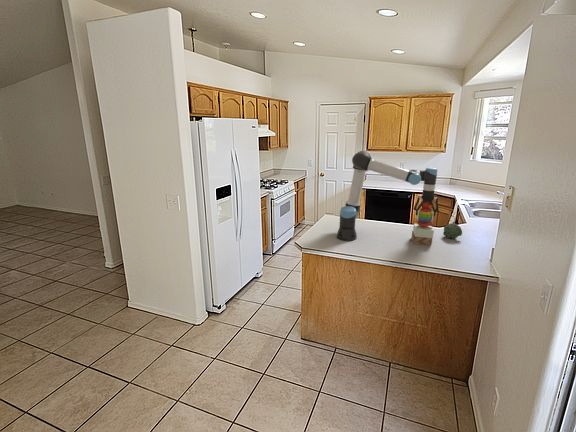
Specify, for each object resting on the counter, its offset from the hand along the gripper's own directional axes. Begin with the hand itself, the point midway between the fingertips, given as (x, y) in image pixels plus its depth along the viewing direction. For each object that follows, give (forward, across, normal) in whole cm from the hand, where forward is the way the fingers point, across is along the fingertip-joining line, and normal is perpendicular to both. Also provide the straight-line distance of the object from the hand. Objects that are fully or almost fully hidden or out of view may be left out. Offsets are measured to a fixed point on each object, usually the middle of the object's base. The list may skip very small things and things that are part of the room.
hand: (424, 219), depth 227 cm
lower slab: (+17, 0, 0) cm, 17 cm away
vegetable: (+17, +24, +14) cm, 33 cm away
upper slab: (+11, 0, 0) cm, 11 cm away
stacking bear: (+4, 0, 0) cm, 4 cm away
